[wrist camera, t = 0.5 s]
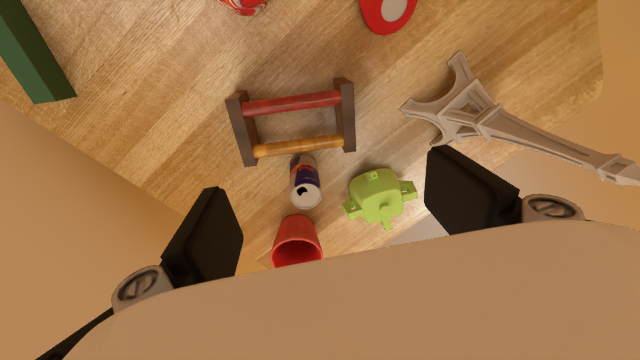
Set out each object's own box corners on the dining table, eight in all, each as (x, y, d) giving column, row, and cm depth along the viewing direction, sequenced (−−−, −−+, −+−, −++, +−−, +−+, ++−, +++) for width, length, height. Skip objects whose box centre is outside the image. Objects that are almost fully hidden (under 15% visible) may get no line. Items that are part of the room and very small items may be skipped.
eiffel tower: (493, 102, 46) (755, 175, 20) (436, 151, 50) (593, 264, 24) (459, 49, 41) (754, 53, 15) (399, 108, 45) (547, 193, 19)
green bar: (-13, -10, 31) (-51, -17, 28) (12, -13, 32) (-23, -20, 28) (57, 98, 38) (33, 104, 35) (77, 96, 38) (56, 101, 35)
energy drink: (306, 147, 47) (310, 176, 36) (321, 167, 49) (328, 199, 39) (284, 162, 48) (282, 194, 37) (300, 180, 50) (302, 215, 40)
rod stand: (234, 91, 40) (224, 99, 34) (344, 77, 41) (353, 82, 35) (251, 151, 46) (244, 167, 40) (347, 137, 46) (356, 151, 40)
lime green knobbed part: (406, 172, 52) (429, 197, 43) (378, 212, 56) (394, 241, 48) (361, 152, 48) (375, 175, 40) (335, 196, 53) (343, 224, 44)
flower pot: (274, 245, 58) (271, 278, 50) (272, 208, 53) (269, 239, 45) (317, 243, 59) (321, 276, 51) (319, 208, 54) (324, 237, 46)
